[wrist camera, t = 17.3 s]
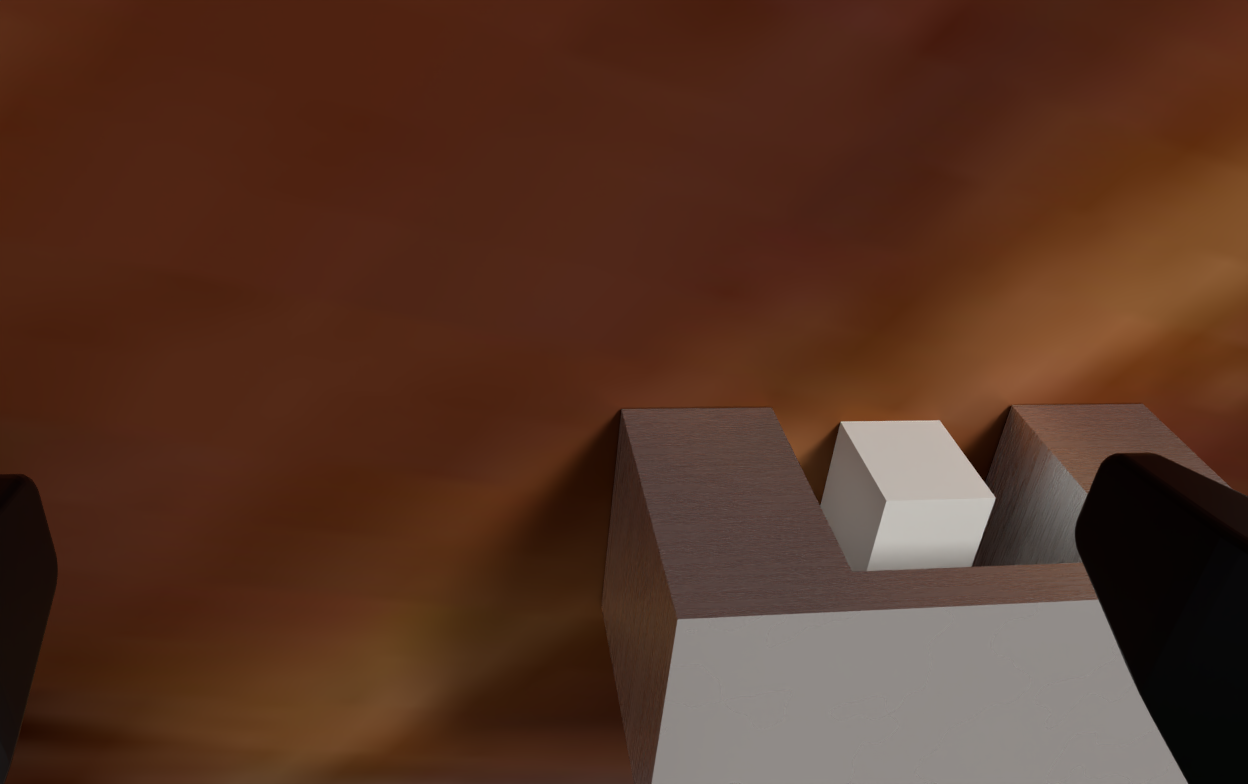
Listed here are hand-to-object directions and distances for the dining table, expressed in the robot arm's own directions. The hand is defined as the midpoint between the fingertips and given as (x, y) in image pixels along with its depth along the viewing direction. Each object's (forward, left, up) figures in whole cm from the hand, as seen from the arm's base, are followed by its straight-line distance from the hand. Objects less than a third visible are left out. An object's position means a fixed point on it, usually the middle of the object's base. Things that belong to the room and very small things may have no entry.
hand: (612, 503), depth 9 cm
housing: (+9, -10, -12) cm, 18 cm away
